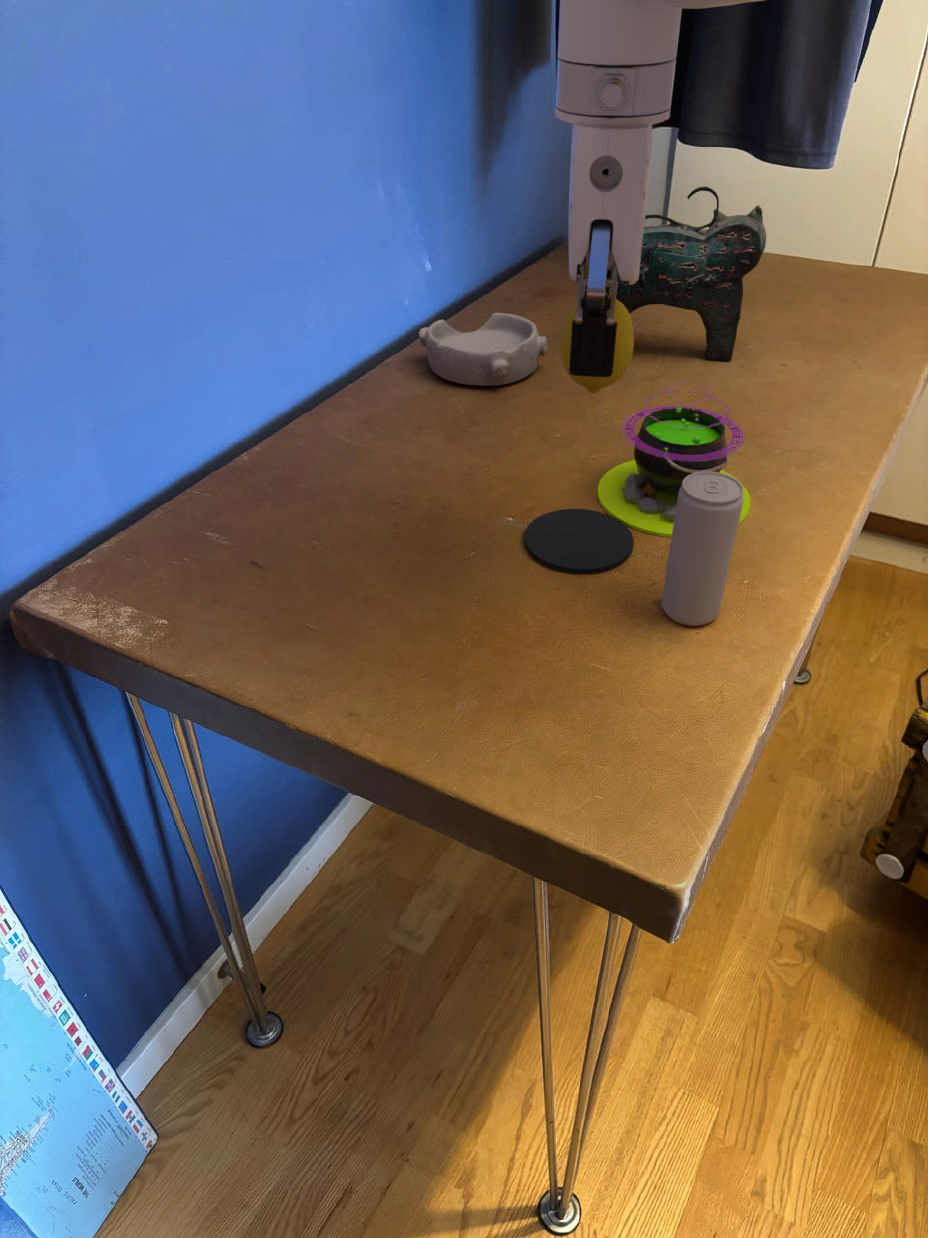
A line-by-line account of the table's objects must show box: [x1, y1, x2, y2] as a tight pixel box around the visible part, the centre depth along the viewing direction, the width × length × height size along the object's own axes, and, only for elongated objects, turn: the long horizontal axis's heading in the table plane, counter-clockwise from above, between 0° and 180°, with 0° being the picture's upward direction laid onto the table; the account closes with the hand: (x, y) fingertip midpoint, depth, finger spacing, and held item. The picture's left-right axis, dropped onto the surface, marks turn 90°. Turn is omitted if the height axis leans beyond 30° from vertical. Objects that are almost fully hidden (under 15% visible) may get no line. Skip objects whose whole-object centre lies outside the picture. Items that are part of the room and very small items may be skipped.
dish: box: [418, 312, 548, 387], centre depth 113 cm, size 14×14×5 cm
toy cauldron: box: [596, 382, 751, 538], centre depth 87 cm, size 15×15×11 cm
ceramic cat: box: [609, 186, 767, 362], centre depth 112 cm, size 20×6×20 cm, turn 76°
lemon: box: [560, 292, 635, 394], centre depth 70 cm, size 6×6×8 cm
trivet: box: [523, 508, 634, 575], centre depth 84 cm, size 10×10×1 cm
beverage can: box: [661, 471, 744, 627], centre depth 72 cm, size 5×5×12 cm
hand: (592, 355), depth 70 cm, fingers closed on lemon, 5 cm apart
